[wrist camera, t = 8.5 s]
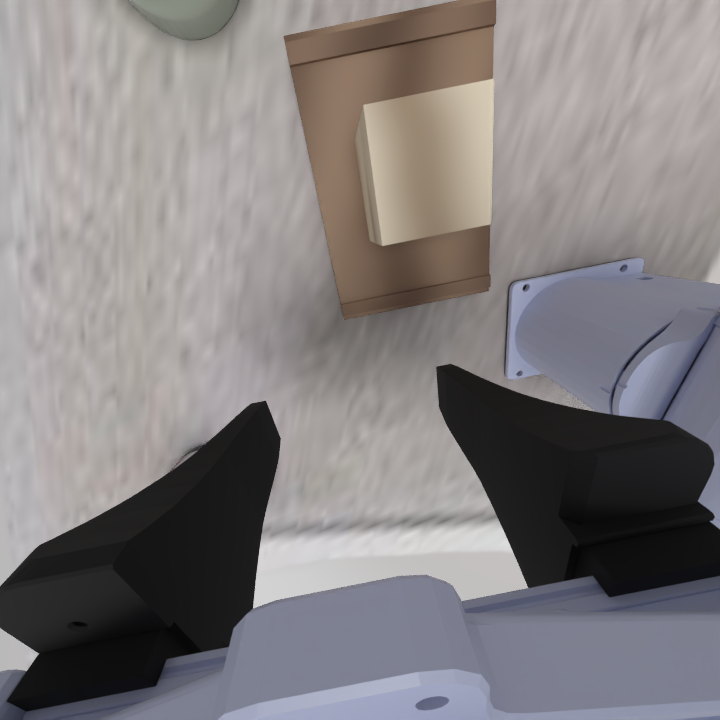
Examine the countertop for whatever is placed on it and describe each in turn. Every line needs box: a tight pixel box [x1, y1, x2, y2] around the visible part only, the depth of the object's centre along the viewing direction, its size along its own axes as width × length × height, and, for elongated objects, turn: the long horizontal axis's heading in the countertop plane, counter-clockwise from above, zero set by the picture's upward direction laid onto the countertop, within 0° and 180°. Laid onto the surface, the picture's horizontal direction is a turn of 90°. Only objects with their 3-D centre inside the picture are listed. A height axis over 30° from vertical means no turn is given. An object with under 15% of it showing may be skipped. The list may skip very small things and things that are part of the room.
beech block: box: [355, 79, 494, 246], centre depth 14 cm, size 5×5×5 cm
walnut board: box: [284, 0, 496, 320], centre depth 17 cm, size 10×14×1 cm
